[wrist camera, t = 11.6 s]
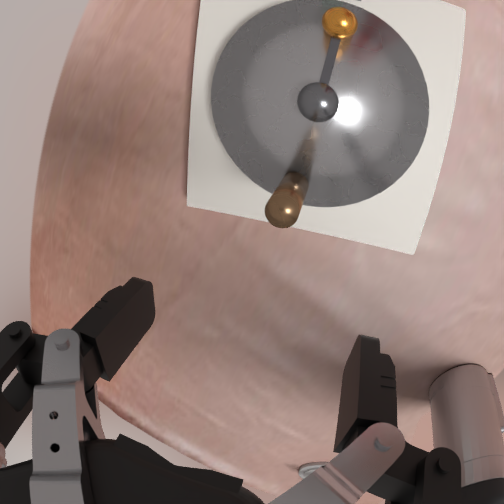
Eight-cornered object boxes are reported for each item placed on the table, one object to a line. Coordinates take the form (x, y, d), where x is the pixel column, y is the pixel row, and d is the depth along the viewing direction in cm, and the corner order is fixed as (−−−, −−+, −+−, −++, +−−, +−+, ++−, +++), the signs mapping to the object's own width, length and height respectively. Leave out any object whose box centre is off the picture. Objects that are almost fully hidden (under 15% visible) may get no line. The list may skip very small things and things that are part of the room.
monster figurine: (363, 465, 51) (357, 509, 43) (345, 484, 57) (339, 522, 49) (305, 457, 54) (295, 502, 45) (295, 476, 60) (285, 515, 51)
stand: (458, 14, 17) (473, 5, 14) (410, 245, 29) (417, 265, 26) (213, -24, 21) (195, -36, 18) (195, 198, 33) (178, 213, 30)
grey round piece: (241, -13, 20) (206, -42, 13) (446, 45, 18) (482, 33, 11) (201, 168, 29) (160, 195, 22) (384, 227, 27) (394, 273, 20)
